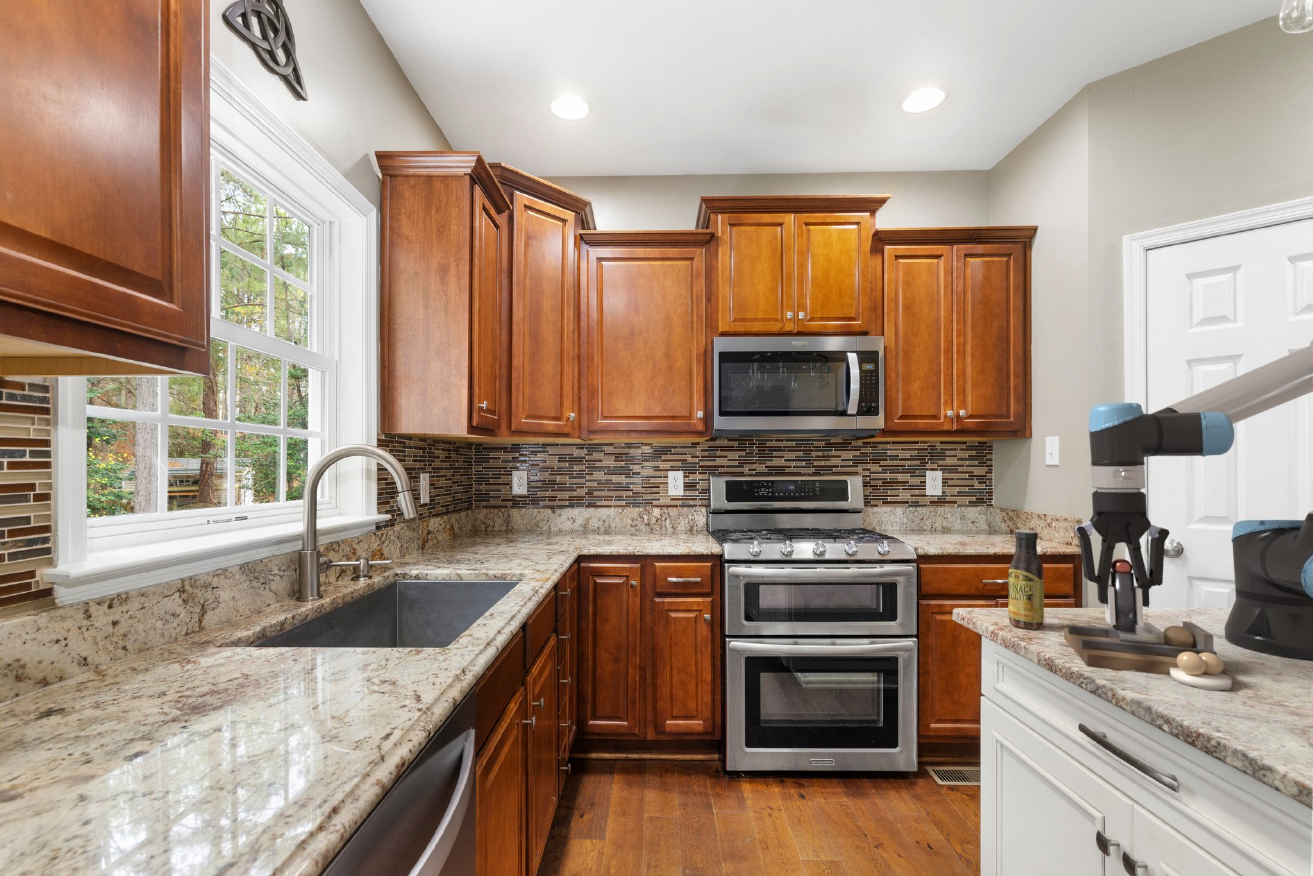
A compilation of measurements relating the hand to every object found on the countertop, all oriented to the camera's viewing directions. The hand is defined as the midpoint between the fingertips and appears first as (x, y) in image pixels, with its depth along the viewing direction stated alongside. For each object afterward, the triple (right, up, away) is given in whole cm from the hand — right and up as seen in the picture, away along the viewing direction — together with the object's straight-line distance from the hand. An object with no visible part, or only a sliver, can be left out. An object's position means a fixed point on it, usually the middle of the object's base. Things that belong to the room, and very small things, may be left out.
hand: (1124, 623), depth 102 cm
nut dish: (+2, -5, -12) cm, 13 cm away
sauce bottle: (-5, -7, +18) cm, 20 cm away
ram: (+1, -3, -1) cm, 4 cm away
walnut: (+7, -4, -3) cm, 8 cm away
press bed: (+2, -6, -1) cm, 6 cm away
